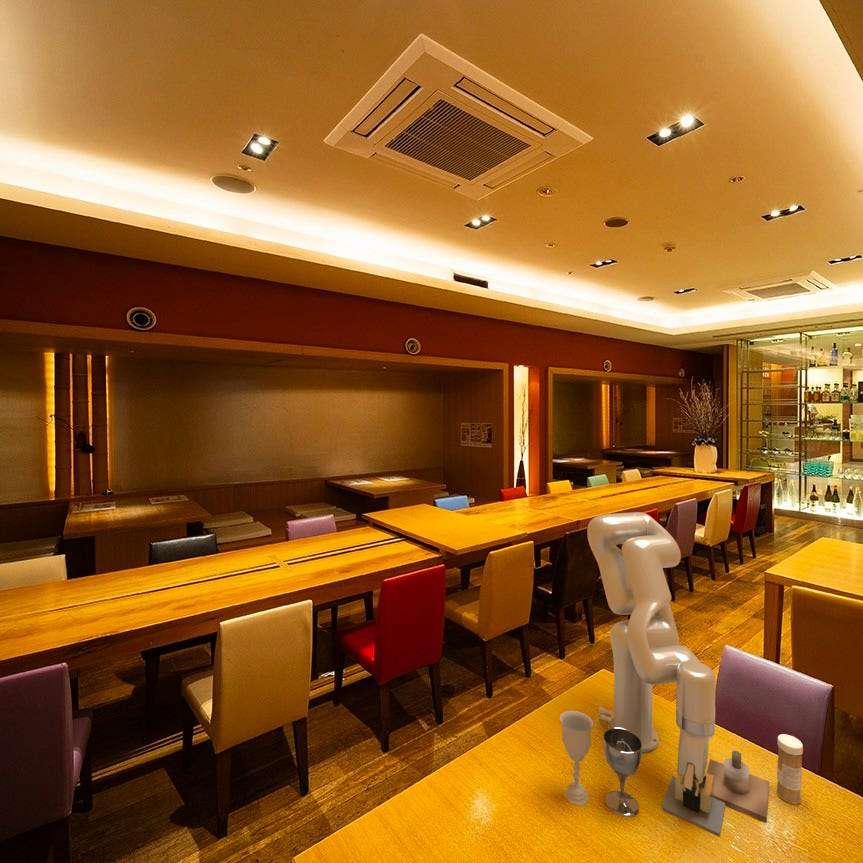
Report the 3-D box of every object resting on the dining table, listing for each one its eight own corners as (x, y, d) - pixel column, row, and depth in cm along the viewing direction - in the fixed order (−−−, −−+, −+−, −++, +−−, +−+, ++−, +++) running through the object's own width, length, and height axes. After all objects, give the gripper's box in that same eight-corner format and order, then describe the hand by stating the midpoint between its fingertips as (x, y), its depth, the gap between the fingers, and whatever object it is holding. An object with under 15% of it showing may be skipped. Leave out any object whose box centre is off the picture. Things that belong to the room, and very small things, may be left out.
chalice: (558, 803, 107) (558, 726, 106) (561, 780, 113) (561, 708, 112) (593, 812, 104) (592, 733, 103) (593, 788, 111) (593, 714, 110)
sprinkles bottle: (777, 785, 111) (779, 730, 110) (802, 796, 108) (804, 739, 107) (774, 797, 107) (776, 740, 107) (800, 809, 104) (801, 750, 103)
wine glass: (595, 796, 109) (595, 733, 108) (622, 784, 112) (622, 723, 111) (622, 824, 101) (622, 757, 101) (649, 810, 105) (650, 745, 104)
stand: (702, 795, 108) (702, 757, 108) (709, 763, 118) (710, 728, 117) (766, 822, 101) (767, 782, 100) (769, 786, 110) (769, 749, 110)
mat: (662, 809, 105) (662, 807, 105) (672, 778, 113) (672, 775, 113) (719, 836, 98) (719, 833, 98) (726, 800, 107) (726, 798, 107)
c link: (675, 798, 105) (675, 780, 105) (680, 779, 110) (681, 762, 110) (709, 813, 101) (709, 795, 101) (713, 793, 106) (713, 776, 106)
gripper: (683, 695, 114) (682, 766, 115) (668, 735, 100) (667, 816, 101) (719, 706, 109) (718, 780, 110) (708, 751, 96) (707, 835, 97)
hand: (694, 797), depth 106 cm, fingers closed on c link, 6 cm apart
